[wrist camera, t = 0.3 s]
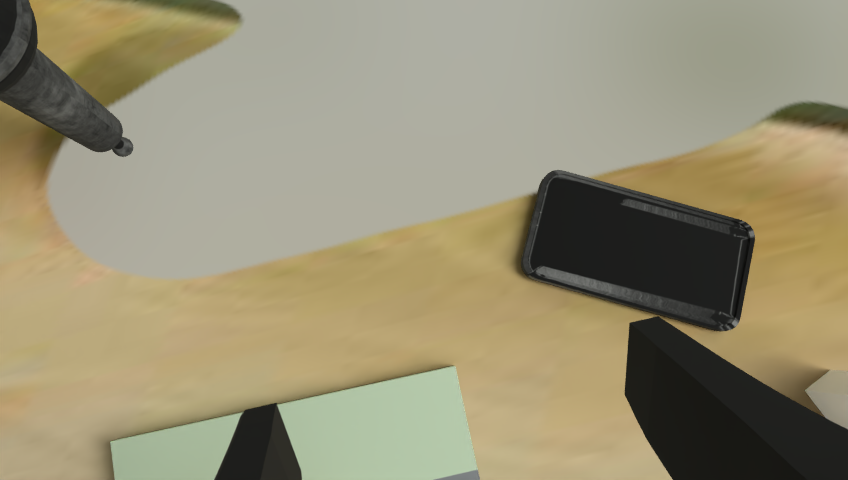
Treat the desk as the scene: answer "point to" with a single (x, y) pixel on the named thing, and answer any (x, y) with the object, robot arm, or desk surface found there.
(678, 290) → the phone
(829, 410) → the napkin holder
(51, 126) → the black bowler hat
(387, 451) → the green and grey board
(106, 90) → the desk surface
